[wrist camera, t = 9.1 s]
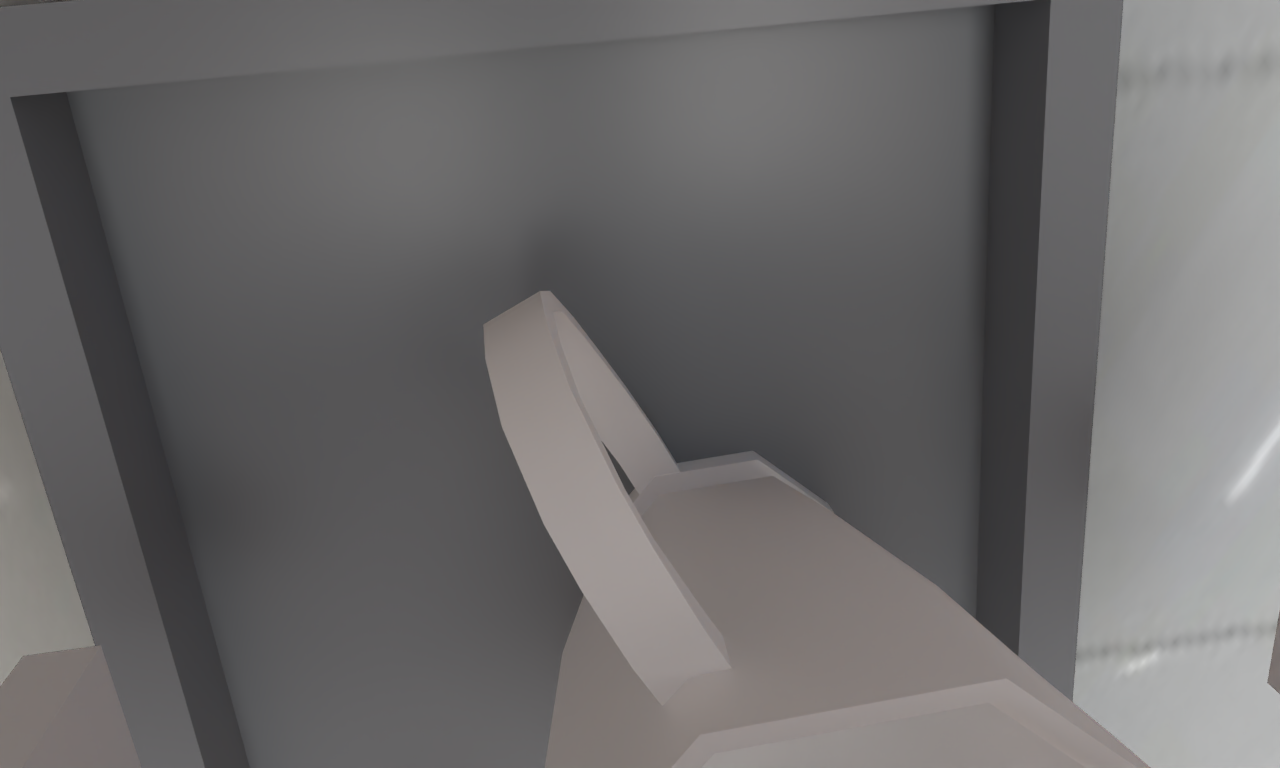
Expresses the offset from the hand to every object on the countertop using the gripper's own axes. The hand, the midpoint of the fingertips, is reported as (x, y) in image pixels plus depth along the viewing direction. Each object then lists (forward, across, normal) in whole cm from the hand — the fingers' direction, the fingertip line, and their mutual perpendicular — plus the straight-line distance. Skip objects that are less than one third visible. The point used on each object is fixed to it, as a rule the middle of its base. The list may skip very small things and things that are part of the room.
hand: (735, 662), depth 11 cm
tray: (+6, -1, -3) cm, 7 cm away
